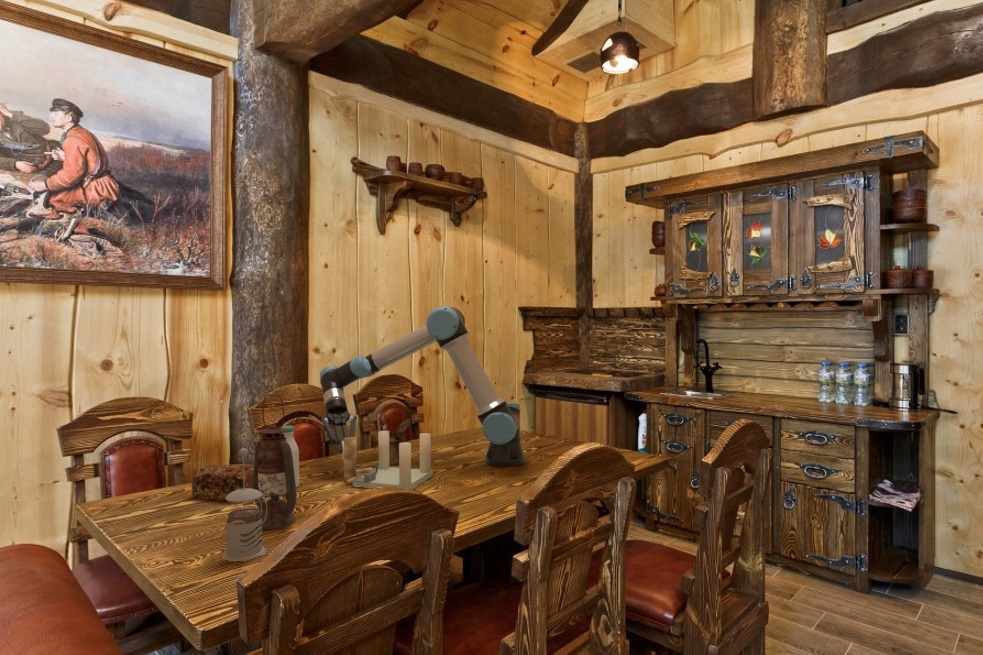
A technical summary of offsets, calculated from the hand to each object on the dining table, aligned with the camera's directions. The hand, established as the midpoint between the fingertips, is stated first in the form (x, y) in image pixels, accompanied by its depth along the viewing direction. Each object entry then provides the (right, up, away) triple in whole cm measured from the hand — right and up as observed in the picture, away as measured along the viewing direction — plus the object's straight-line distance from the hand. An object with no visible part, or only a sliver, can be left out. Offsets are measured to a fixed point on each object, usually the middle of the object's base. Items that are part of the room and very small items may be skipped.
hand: (346, 459), depth 201 cm
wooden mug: (+13, -7, +25) cm, 29 cm away
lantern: (-10, -8, -40) cm, 42 cm away
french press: (-9, -9, -61) cm, 62 cm away
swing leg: (+5, -5, 0) cm, 7 cm away
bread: (-33, -8, -16) cm, 38 cm away
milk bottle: (-18, -8, -6) cm, 21 cm away
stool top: (+16, -7, 0) cm, 18 cm away
